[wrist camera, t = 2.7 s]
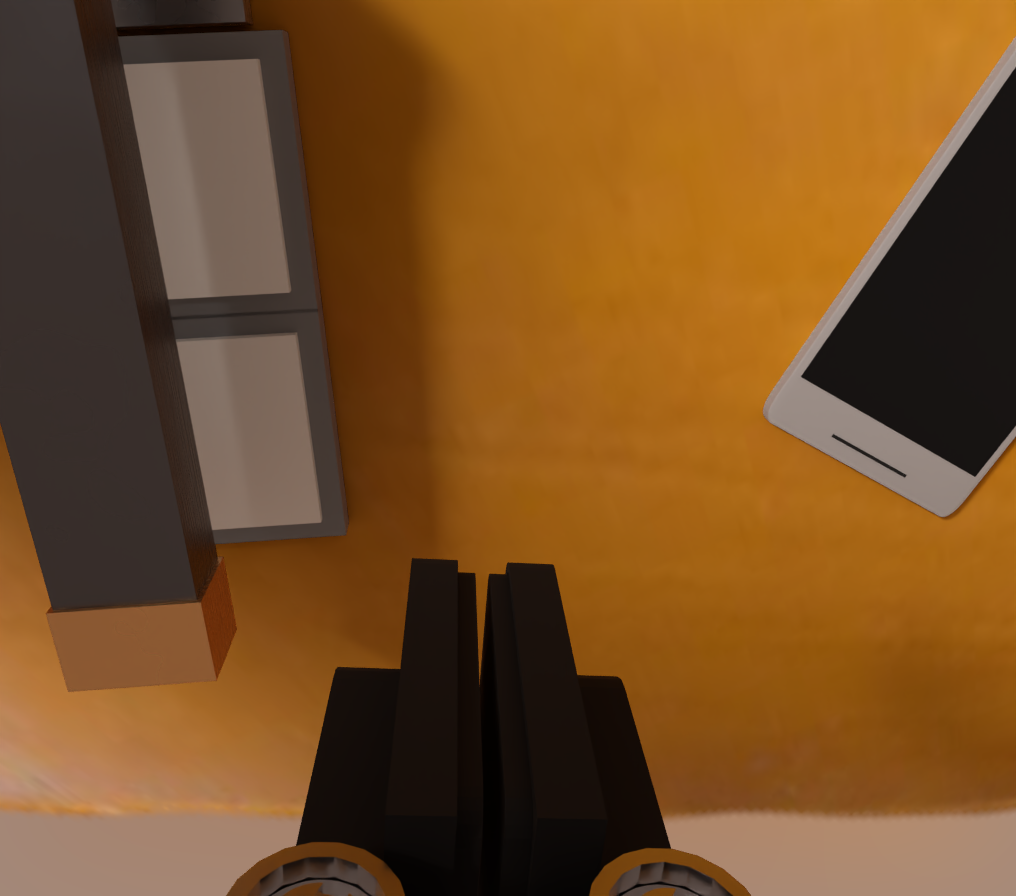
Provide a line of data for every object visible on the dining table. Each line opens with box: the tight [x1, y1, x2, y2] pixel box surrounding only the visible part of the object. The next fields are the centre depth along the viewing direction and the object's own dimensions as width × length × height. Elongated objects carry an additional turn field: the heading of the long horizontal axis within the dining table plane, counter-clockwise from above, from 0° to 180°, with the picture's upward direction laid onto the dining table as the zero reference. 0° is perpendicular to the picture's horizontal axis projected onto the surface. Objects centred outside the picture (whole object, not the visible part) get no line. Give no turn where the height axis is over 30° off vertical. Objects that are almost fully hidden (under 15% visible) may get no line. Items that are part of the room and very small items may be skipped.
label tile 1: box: [171, 302, 349, 544], centre depth 24 cm, size 8×7×1 cm
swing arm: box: [0, 0, 237, 692], centre depth 16 cm, size 18×4×2 cm, turn 2°
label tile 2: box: [118, 30, 321, 320], centre depth 21 cm, size 8×7×1 cm
